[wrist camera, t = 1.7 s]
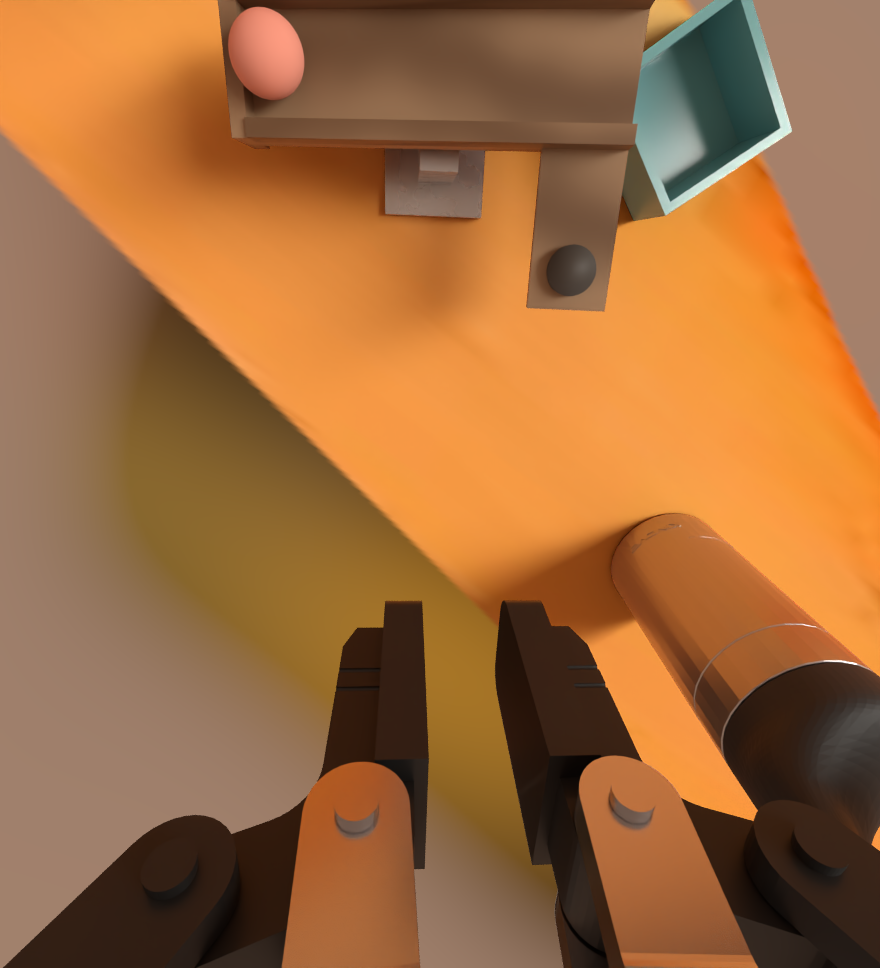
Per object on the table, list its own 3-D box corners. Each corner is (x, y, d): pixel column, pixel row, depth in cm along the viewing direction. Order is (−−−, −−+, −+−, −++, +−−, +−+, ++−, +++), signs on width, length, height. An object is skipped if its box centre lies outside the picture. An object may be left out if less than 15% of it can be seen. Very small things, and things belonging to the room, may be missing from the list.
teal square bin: (742, 147, 33) (792, 131, 29) (633, 221, 34) (665, 215, 30) (698, 17, 30) (745, -23, 26) (581, 102, 32) (608, 77, 27)
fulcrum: (479, 218, 34) (501, 206, 26) (385, 214, 33) (378, 200, 25) (492, -2, 29) (523, -97, 22) (384, -10, 29) (375, -109, 21)
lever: (598, 309, 29) (608, 313, 26) (267, 294, 30) (246, 297, 28) (643, 2, 24) (661, -30, 21) (242, 2, 25) (213, -28, 23)
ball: (327, 66, 23) (261, 44, 21) (296, 123, 25) (234, 109, 23) (299, 1, 23) (230, -27, 21) (272, 65, 26) (207, 44, 23)
